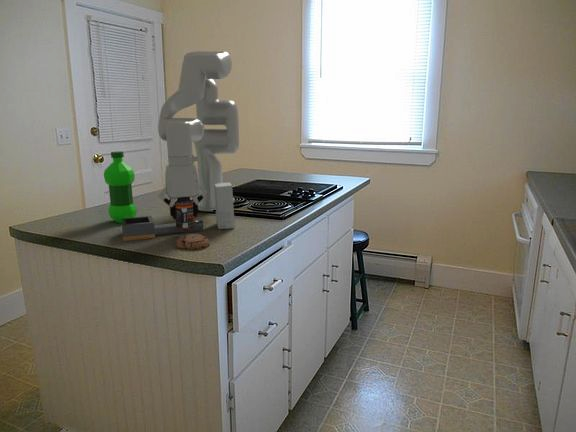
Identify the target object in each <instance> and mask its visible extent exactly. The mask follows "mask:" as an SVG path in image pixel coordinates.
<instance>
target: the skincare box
mask: <svg viewBox="0 0 576 432" xmlns="http://www.w3.org/2000/svg"><path fill="white" fill-rule="evenodd" d="M214 191H215V209H216V211H215V220H216V223H215V224H216V226H217V229H218V230H223V229H229V230H230V229H235V227H236V226H235V210H234V202H233V198H234V195H233V194H234V193H233V184H231V182H222V183H216V184H214Z"/></svg>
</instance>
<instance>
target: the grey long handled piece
mask: <svg viewBox="0 0 576 432" xmlns="http://www.w3.org/2000/svg"><path fill="white" fill-rule="evenodd" d="M121 222H122V223H121V230H122V231H121V232H122V239H123V240H122V242H125V241H128V242H129V241H135V240H146V239H155V238H156V236H159V235H160V236H162V235H172V234H180V233H181V234H182V233H192V232H200V231H201V232H202V231H204V220H203V219H194V224H195V227H194V228H193V229H192V230H188V231H180V230H177V229H176V222H174V223H173V222H172V223H163V224H155V222H154V219H153V217H152V215H147V216H146V215H145V216H135V217H131V218H121Z"/></svg>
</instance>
